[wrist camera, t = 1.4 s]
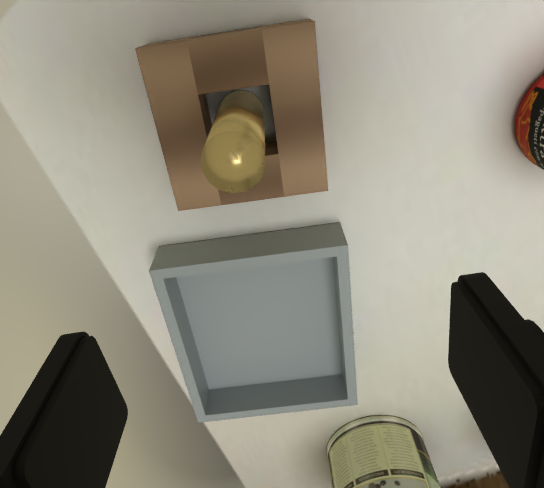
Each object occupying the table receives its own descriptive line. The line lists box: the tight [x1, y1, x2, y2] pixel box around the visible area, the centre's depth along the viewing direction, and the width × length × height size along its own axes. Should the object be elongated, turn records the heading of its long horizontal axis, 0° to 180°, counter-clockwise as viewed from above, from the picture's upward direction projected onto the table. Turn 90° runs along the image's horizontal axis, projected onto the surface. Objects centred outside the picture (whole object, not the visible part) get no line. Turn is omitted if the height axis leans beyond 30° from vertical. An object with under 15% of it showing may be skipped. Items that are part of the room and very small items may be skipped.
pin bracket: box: [136, 19, 328, 211], centre depth 28 cm, size 10×10×3 cm
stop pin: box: [201, 91, 265, 193], centre depth 25 cm, size 3×3×10 cm
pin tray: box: [149, 223, 358, 423], centre depth 36 cm, size 16×14×4 cm
